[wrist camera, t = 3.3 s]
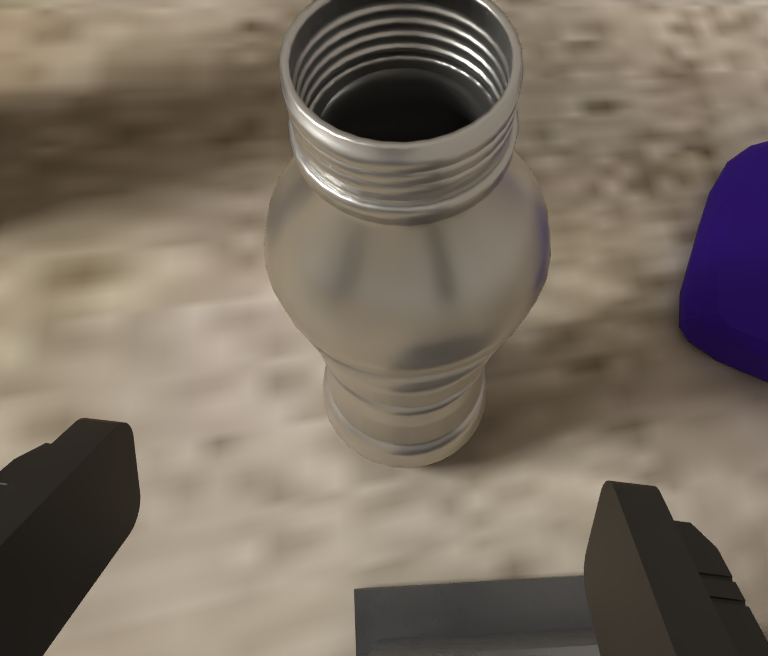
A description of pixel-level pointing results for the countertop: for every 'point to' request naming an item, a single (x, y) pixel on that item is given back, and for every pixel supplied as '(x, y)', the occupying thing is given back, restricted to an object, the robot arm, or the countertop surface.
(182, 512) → the countertop surface
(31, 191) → the countertop surface
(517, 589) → the rack socket
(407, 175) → the plastic bottle
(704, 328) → the spray bottle
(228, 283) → the countertop surface
